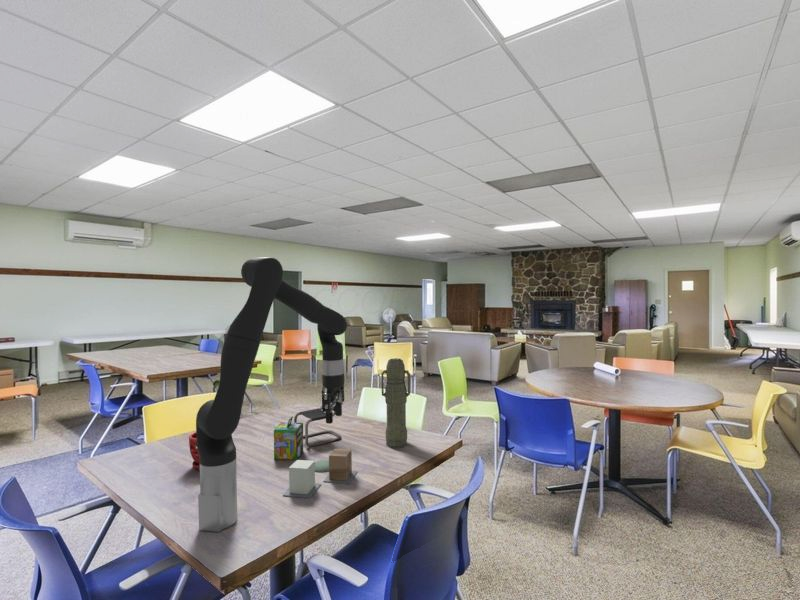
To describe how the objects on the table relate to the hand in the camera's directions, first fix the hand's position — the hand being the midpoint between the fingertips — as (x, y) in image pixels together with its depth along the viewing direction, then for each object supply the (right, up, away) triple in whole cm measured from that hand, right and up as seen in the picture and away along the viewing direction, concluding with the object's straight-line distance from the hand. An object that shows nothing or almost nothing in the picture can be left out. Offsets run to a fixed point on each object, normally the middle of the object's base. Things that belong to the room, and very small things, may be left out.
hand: (334, 419), depth 143 cm
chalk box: (-20, -19, +18) cm, 33 cm away
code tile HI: (-8, -19, -11) cm, 24 cm away
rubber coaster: (-5, -19, +7) cm, 21 cm away
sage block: (-8, -19, -11) cm, 23 cm away
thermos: (+21, -19, +28) cm, 40 cm away
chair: (-12, -19, +35) cm, 41 cm away
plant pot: (-47, -20, +10) cm, 52 cm away
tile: (+2, -19, -2) cm, 19 cm away
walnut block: (+2, -19, -2) cm, 19 cm away
